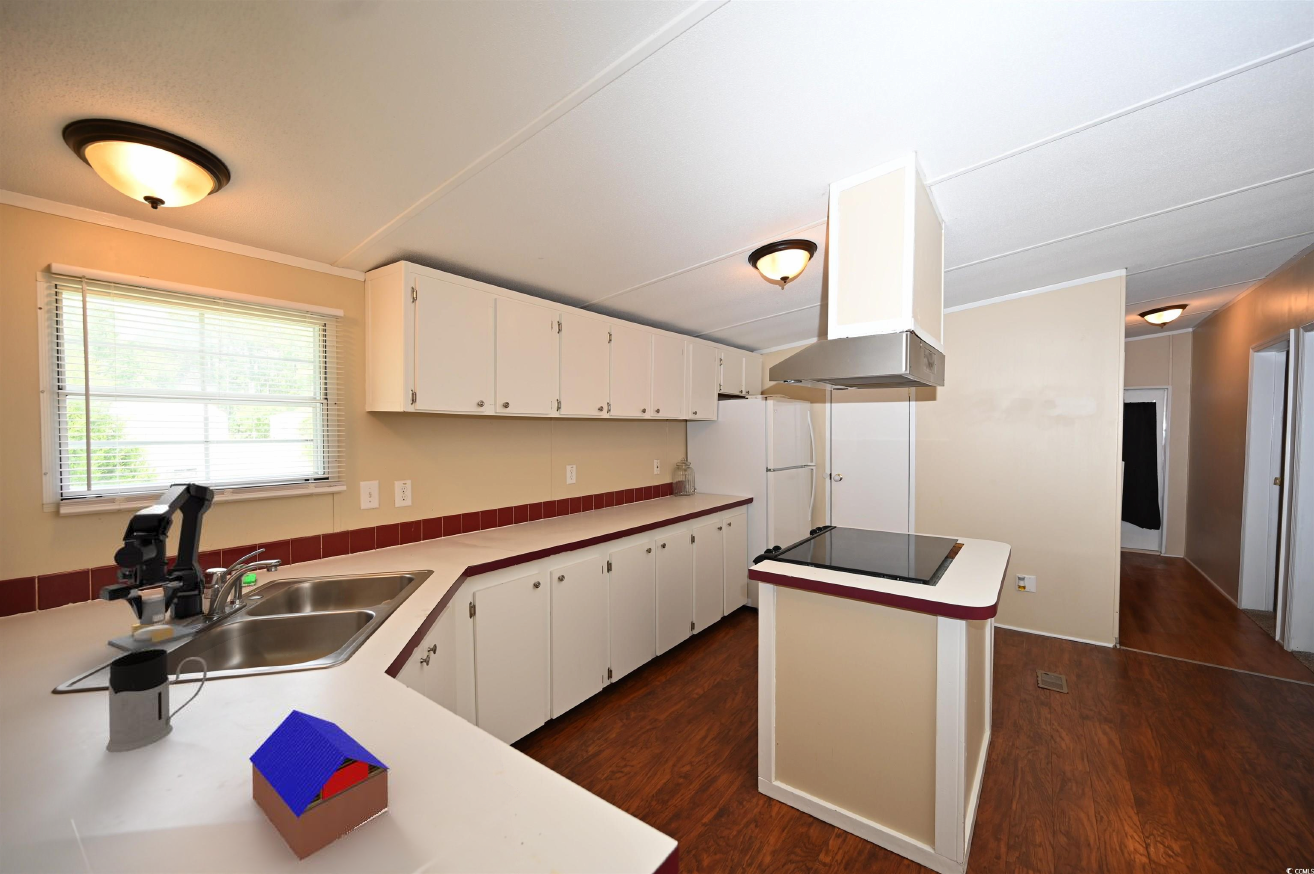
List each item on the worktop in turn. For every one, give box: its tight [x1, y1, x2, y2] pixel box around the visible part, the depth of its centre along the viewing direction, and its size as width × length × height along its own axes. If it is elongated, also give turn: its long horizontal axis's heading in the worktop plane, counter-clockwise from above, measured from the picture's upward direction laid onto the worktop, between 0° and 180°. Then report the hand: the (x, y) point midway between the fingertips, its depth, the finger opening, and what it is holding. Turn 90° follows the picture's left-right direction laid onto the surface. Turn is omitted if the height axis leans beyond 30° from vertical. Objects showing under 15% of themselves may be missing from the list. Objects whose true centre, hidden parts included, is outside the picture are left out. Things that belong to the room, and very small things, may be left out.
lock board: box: [107, 623, 196, 653], centre depth 140 cm, size 13×13×4 cm
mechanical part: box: [243, 573, 257, 584], centre depth 190 cm, size 12×6×8 cm, turn 35°
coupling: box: [138, 594, 166, 625], centre depth 140 cm, size 7×5×6 cm
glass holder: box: [105, 648, 208, 753], centre depth 96 cm, size 9×14×15 cm, turn 112°
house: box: [248, 709, 391, 862], centre depth 78 cm, size 12×20×12 cm, turn 53°
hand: (152, 616), depth 140 cm, fingers closed on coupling, 5 cm apart
